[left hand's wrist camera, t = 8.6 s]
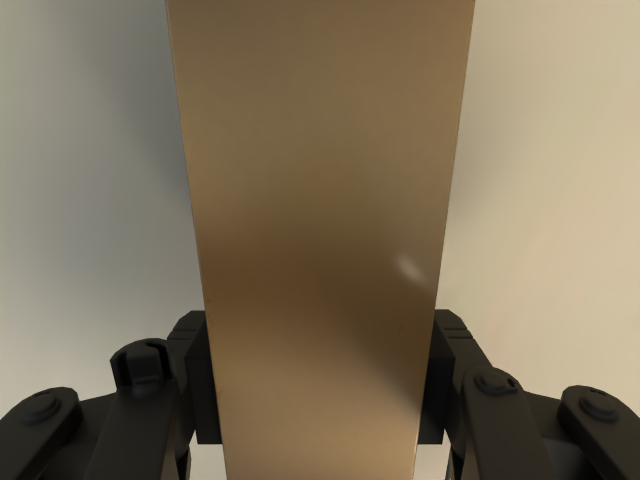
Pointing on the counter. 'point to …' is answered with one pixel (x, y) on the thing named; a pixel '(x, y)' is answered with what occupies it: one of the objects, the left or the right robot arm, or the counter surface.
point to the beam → (319, 219)
